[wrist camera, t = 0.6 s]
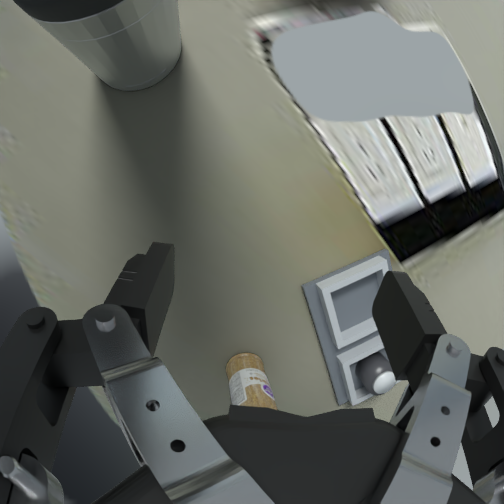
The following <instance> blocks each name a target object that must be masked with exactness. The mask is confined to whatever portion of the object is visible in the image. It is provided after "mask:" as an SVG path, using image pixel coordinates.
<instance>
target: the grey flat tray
mask: <svg viewBox="0 0 504 504" xmlns="http://www.w3.org/2000/svg"><path fill="white" fill-rule="evenodd" d="M387 271H392V267H391V262H390V257H389V252H388V250H387V249H383V250H380V251H378V252H376V253H374V254H372V255H370V256H367V257H365V258H363V259H361V260H358V261H356V262H354V263H352V264H349V265H347V266H345V267H343V268H340V269H338V270H336V271H334V272H331V273H329V274H327V275H324V276H322V277H320V278H317V279H315V280H313V281H310V282H308V283H306V284H303V285H301V286H302V289H303V292H304V295H305V298H306V301H307V304H308V307H309V310H310V314H311V317H312V320H313V323H314V326H315V329H316V333H317V336H318V339H319V342H320V346H321V349H322V352H323V355H324V359H325V362H326V365H327V369H328V372H329V375H330V379H331V382H332V385H333V389H334V392H335V396H336V399H337V402H338V404H339V405H341V404H343V403H345V402H348V401H350V403H351V404H352V406H354V405H356V404H358V403H360V402H362V401H364V400H366V399H368V398H370V397H372V396H374V395H381V394H384V393H386V392H387V391H389V390H390V389H391V388H392V387H393V386H394V385H395V384H396V383H398V382H399V381H401V380H398V381H396V380H395V377H394V374H393V371H392V368H391V365H390V362H389V360H388V357H387V354H386V351H385V349H384V346H383V343H382V340H381V338H380V335H379V332H378V330H377V327H376V325H375V322H374V319H373V316H372V306H373V302H374V299H375V297H376V295H377V292H378V290H379V287H380V285H381V282H382V280H383V277H384V275H385V273H386V272H387Z"/></svg>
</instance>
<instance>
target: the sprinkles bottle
mask: <svg viewBox="0 0 504 504" xmlns="http://www.w3.org/2000/svg"><path fill="white" fill-rule="evenodd" d="M226 373H227V376H228V380H229V389H230V395H231V401H232V405H241V406H253V407H268V408H271V409H275V410H278V409H277V407H276V404H275V399H274V396H273V393H272V390H271V387H270V384H269V381H268V378H267V376H266V374H265V371H264V365H263V362H262V360H261V359H260V358H259V357H258V356H257V355H255V354H252V353H241V354H238V355H236V356H234V357H232V358H231V359H230V360H229V362H228V363H227V365H226Z"/></svg>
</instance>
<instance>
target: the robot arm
mask: <svg viewBox="0 0 504 504" xmlns="http://www.w3.org/2000/svg"><path fill="white" fill-rule="evenodd" d="M13 1H14V2H15V3H16V4H17V5H18V6H19V7H20V8H22V9H23V10H24V11H25V12H26V13H27V14H28V15H29V16H31V17H32V18H33V19H34V20H35V21H36V22H38V23H39V24H40V25H41V26H42V27H43V28H44V29H45V30H47V31H48V32H49V33H50V34H51V35H53V36H54V37H55V38H56V39H57V40H58V41H59V42H60V43H62V44H63V45H64V46H65V47H66V48H67V49H68V50H69V51H71V52H72V53H73V54H74V55H75V56H76V57H77V58H78V59H79V60H81V61H82V62H83V63H84V64H85V65H86V66H87V67H88V68H89V69H90V70H91V71H92V72H94V73H95V74H96V75H97V76H98V77H99V78H100V79H101V80H102V81H104V82H105V83H106V84H107V85H109V86H111V87H113V88H115V89H119V90H124V91H134V90H141V89H144V88H147V87H150V86H152V85H154V84H156V83H158V82H159V81H161V80H162V79H163V78H165V77H166V76H167V75H168V74H169V73H170V72H171V71H172V70H173V68H174V66H175V65H176V63H177V62H178V59H179V56H180V53H181V34H180V22H179V12H178V1H177V0H13ZM173 289H174V245H173V244H166V243H158V242H153V243H152V245H151V247H150V248H149V250H148V252H147V254H146V255H143V254H137V255H135V256H134V257H133V258H131V259H130V260H128V261H127V263H126V265H125V267H124V268H123V271H122V272H121V273H120V275H119V277H118V279H117V280H116V282H115V284H114V286H113V287H112V289H111V291H110V293H109V295H108V296H107V298H106V300H105V302H104V304H101V305H98V306H95V307H93V308H91V309H90V310H88V311H87V312H86V314H85V315H84V317H83V319H78V320H62V321H58V320H57V317H56V314H55V313H54V312H53V311H52V310H51V309H49V308H46V307H36V308H32V309H29V310H27V311H25V312H24V313H23V314H22V315H21V316H20V317H19V318H18V320H17V321H16V323H15V324H14V326H13V328H12V329H11V331H10V333H9V334H8V336H7V338H6V339H5V341H4V343H3V345H2V346H1V348H0V504H63V490H62V487H61V485H60V483H59V481H58V480H57V479H56V478H55V477H54V476H53V475H52V474H51V470H52V467H53V463H54V459H55V456H56V452H57V448H58V445H59V441H60V438H61V434H62V431H63V428H64V425H65V421H66V418H67V415H68V412H69V409H70V406H71V402H72V400H73V397H74V394H75V391H76V388H77V387H84V386H102V387H103V390H104V392H105V394H106V396H107V399H108V401H109V403H110V405H111V408H112V410H113V412H114V414H115V416H116V418H117V420H118V422H119V424H120V426H121V428H122V431H123V433H124V435H125V437H126V439H127V441H128V443H129V445H130V447H131V449H132V451H133V453H134V455H135V457H136V458H137V460H138V462H139V464H140V465H141V467H140V468H139V469H138V470H137V471H135V472H134V473H133V474H131V475H130V476H129V477H127V478H126V479H125V480H123V481H122V482H121V483H119V484H118V485H117V486H115V487H114V488H113V489H111V490H110V491H108V492H107V493H106V494H104V495H103V496H101V497H100V498H99V499H97V500H96V501H94V502H93V503H91V504H504V350H502V349H500V348H497V347H491V348H489V349H488V351H487V352H486V354H485V355H484V356H479V355H475V354H472V353H470V349H469V347H468V346H467V344H466V343H465V342H464V341H463V340H462V339H460V338H459V337H457V336H455V335H452V334H447V332H446V330H445V329H444V327H443V325H442V323H441V322H440V320H439V318H438V316H437V315H436V313H435V312H434V309H433V308H432V306H431V305H430V303H429V301H428V299H427V298H426V296H425V294H424V293H423V292H422V291H420V290H419V289H418V288H417V287H416V286H414V284H413V282H412V281H411V279H410V277H409V276H408V274H407V273H405V272H398V271H387V272H386V273H385V275H384V277H383V280H382V282H381V285H380V287H379V290H378V292H377V295H376V297H375V299H374V302H373V306H372V316H373V319H374V322H375V325H376V327H377V330H378V332H379V335H380V338H381V340H382V343H383V346H384V349H385V351H386V354H387V357H388V360H389V362H390V365H391V368H392V371H393V374H394V377H395V380H396V381H398V380H408V382H409V384H408V385H407V387H406V388H405V390H404V392H403V394H402V397H401V399H400V401H399V403H398V405H397V407H396V410H395V412H394V414H393V416H392V418H391V420H390V422H389V423H388V422H386V421H383V420H380V419H376V418H375V416H374V412H373V408H362V409H339V410H335V411H331V412H327V413H323V414H319V415H315V416H310V417H303V416H299V415H294V414H290V413H287V412H283V411H279V410H275V409H271V408H268V407H253V406H241V405H230V408H229V415H222V416H217V417H213V418H210V419H207V420H204V421H201V419H200V418H199V416H198V415H197V413H196V412H195V411H194V409H193V408H192V406H191V405H190V403H189V402H188V401H187V399H186V398H185V396H184V395H183V393H182V392H181V390H180V389H179V387H178V386H177V384H176V383H175V381H174V379H173V378H172V376H171V375H170V373H169V372H168V370H167V369H166V367H165V365H164V364H163V362H162V361H161V360H160V359H159V358H158V357H155V358H153V356H154V352H155V349H156V346H157V342H158V339H159V336H160V333H161V329H162V326H163V323H164V320H165V317H166V314H167V311H168V307H169V304H170V301H171V298H172V295H173ZM492 396H493V398H494V400H495V402H496V405H497V407H498V410H499V413H500V417H499V421H498V423H497V425H496V426H495V427H494V428H492V425H491V422H490V420H489V417H488V414H487V412H486V409H485V407H484V405H485V404H486V403H487V401H488V400H489V399H490V398H491V397H492ZM460 443H462V446H463V450H464V453H465V457H466V461H467V464H468V468H469V472H470V476H471V480H472V484H473V491H472V490H471V489H470V488H469V487H467V486H466V485H465V484H464V483H463V482H461V481H460V480H459V479H458V478H457V477H455V476H454V475H453V474H452V470H453V467H454V463H455V460H456V457H457V453H458V450H459V446H460Z"/></svg>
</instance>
